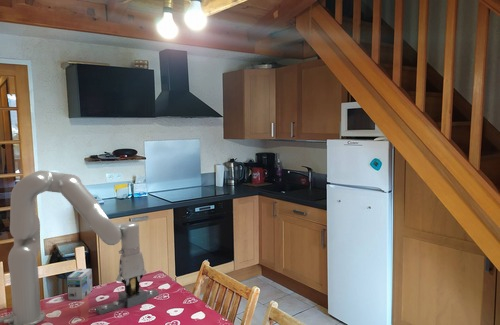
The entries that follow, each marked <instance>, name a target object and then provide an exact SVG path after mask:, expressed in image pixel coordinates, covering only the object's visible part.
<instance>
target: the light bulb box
mask: <svg viewBox="0 0 500 325" xmlns="http://www.w3.org/2000/svg"><path fill="white" fill-rule="evenodd" d="M66 279H67V293H68V294H67V295H68V300H74V301H77V300H79V301H80V300H81V301H82V300H84V299H85V298H86V297H87V296H88V295H89V294H91V293H92V292H93V291H92V290H93V272H92V268H78V269H76V270H74V271H73V272H72V273H70V274H69V275H67V278H66ZM91 291H92V292H91Z"/></svg>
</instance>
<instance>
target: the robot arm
mask: <svg viewBox="0 0 500 325" xmlns="http://www.w3.org/2000/svg"><path fill="white" fill-rule="evenodd" d="M45 192H50V193H57V194H58V193H59V194H61V195H62V196H63V197H64V199H66V201H67V202H69V204H70V205H71V206H72V207H73V208H74V209H75V211H77V213H78V214H79V215H80V216H81V217H82V219H83V220H84V221H85V222H86V223H87V225H88V226H89V227H90V228H91V229H92V231H93V232H94V233H95V234H96V235H97V237H99V239H100V240H101V241H102V242H103V243H104V244H106V245H108V246H115V245H117V244H119V242H120V243H121V249H120V250H118V254H120V258H119V263H118V275H117V278H116V279H115V280H116V281H117V282H120V283H123V284H124V291H125V292H126V293H128V294H130V285H129V279H130V278H133V277H136V291H139V288H140V287H141V286H140V283H141V279H142V278H143V277H144V276H145V275H146V274H147V271H146V268H145V262H144V256H143V252H142V251H141V249H140V248H141V247H140V225H139V224H138V222H135V221H128V222H122V223H121V222H112V220H111V219H110V218H109V216H107V214H106V213H105V211H104V210H103V208H102V206H101V203H99V201H98V200H97V198H95V196H94V195H93V194H92V193H91V192H90V191H89V190H88V189H87V187H86V186H85V185H84V184H83V182H82V180H81V179H80V177H79V176H77V175H75V174H71V173H70V174H69V173H62V172H54V171H49V170H37V171H34V172H32V173H30V174H29V175H26V176H24V177H23V178H21V179H20V180H18V181H17V182H16V183H15V185H14V186H13V188H12V190H11V193H10V212H9V219H10V220H9V232H10V234H11V237H13V246H12V247H11V249H10V251H9V253H8V257H7V264H8V271H9V278H10V292H11V308H12V310H10V313H8V314H7V315H6V316H2V317H0V324H2V323H3V324H7V323H8V325H38V324H39V323H41V322H42V321H43V320H45V318H46V313H45V312H44V311H43V310H41V307H42V306H41V295H40V294H41V293H40V291H41V290H40V279H39V278H40V277H39V268H38V256H39V253H40V250H41V223H40V222H41V221H40V218H39V216H38V215H37V214H36V213H37V212H36V209H37V207H36V200H37V197H38V195H40V194H42V193H45ZM140 289H141V288H140Z"/></svg>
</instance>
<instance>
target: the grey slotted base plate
mask: <svg viewBox="0 0 500 325" xmlns="http://www.w3.org/2000/svg"><path fill="white" fill-rule="evenodd" d="M159 293H160V292H159V291H158V290H157V289H155V288H153V289H148V290H143V289H142V288H139V291H136V294H134V295H131V296H130V295H129V294H128V293H126V292H125V290H123V291H120V292H118V300H114V301H112V302H109V303H107V304H102V305H100V306H97V307H95V312H96V313H97V314H98V315H99V316H101V315H105V314H107V313H109V312H112V311H116V310H119V309H121V308H125V307H126V309H130V308H132V307H135V306H137V305H141V304H143V303H147V302H148V299H152V298H154V297H157V296H159V295H160V294H159Z"/></svg>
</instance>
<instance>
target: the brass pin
mask: <svg viewBox="0 0 500 325" xmlns="http://www.w3.org/2000/svg"><path fill="white" fill-rule="evenodd" d="M129 285H130V294H129V295H130V296H131V295H134V294H136V277H133V278H130V279H129Z"/></svg>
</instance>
